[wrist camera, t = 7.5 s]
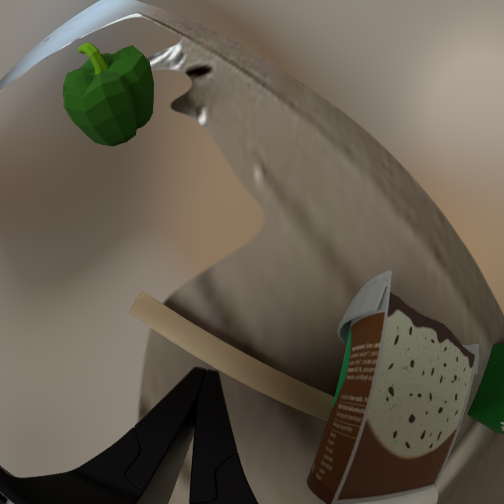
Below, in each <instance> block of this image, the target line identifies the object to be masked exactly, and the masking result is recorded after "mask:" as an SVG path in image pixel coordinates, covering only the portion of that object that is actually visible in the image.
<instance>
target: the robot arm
mask: <svg viewBox="0 0 504 504" xmlns="http://www.w3.org/2000/svg"><path fill="white" fill-rule="evenodd" d="M134 427H135V428H132V429H131V430H129V431H128V432H127V433H126V434H125V435H124V436H123V437H122V438H120V439H119V440H118V441H117V442H116V443H114V444H113V445H112V446H110V447H109V448H107V449H106V450H105V451H103V452H102V453H100V454H99V455H97V456H96V457H94V458H92V459H91V460H90V461H88V462H86V463H85V464H83V465H82V466H80V467H78V468H76V469H74V470H71V471H68V472H64V473H59V474H52V475H45V476H37V477H29V478H28V477H27V478H19V477H15V476H14V475H12V474H11V473H9V472H8V471H7V470H5V469H4V468H3V467H1V466H0V504H168V503H169V500H170V497H171V495H172V492H173V489H174V487H175V484H176V481H177V479H178V476H179V473H180V470H181V468H182V465H183V462H184V460H185V457H186V454H187V451H188V449H189V446H190V443H191V440H192V438H193V435H194V442H193V454H192V467H191V482H190V498H189V504H258V502H257V500H256V498H255V496H254V494H253V492H252V490H251V488H250V486H249V484H248V481H247V479H246V477H245V474H244V471H243V468H242V465H241V462H240V458H239V455H238V452H237V447H236V444H235V440H234V436H233V432H232V428H231V424H230V420H229V416H228V411H227V407H226V403H225V398H224V394H223V390H222V385H221V380H220V376H219V372H218V371H216V370H210V369H208V370H206V369H205V368H201V367H194V368H193V369H192V370H191V371H190V372H189V373H188V374H187V375H186V376H185V377H184V378H183V379H182V380H181V381H180V382H179V383H178V384H177V385H176V386H175V387H174V388H173V389H172V390H171V391H170V392H169V393H168V394H167V395H166V396H165V397H164V398H163V399H162V400H161V401H160V402H159V403H158V404H157V405H156V406H155V407H154V408H153V409H152V410H151V411H150V412H148V413H147V414H146V415H145V416H144V417H143V418H142V419H141V420H140V421H139V422H138V423H137V424H136V425H135V426H134Z"/></svg>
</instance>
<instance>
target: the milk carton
mask: <svg viewBox="0 0 504 504" xmlns="http://www.w3.org/2000/svg"><path fill="white" fill-rule="evenodd" d="M468 415H469V416H471V417H472V418H474V419H475V420H477V421H479V422H480V423H482V424H484V425H485V426H487V427H488V428H490V429H492V430H493V431H495V432H497V433H500V434H503V435H504V343H503V344H497V345H494V346H493V349H492V353H491V356H490V359H489V362H488V365H487V368H486V371H485V374H484V377H483V379H482V382H481V385H480V387H479V390H478V392H477V395H476V397H475V400H474V402H473V404H472V406H471V409H470V411H469V413H468Z"/></svg>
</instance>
